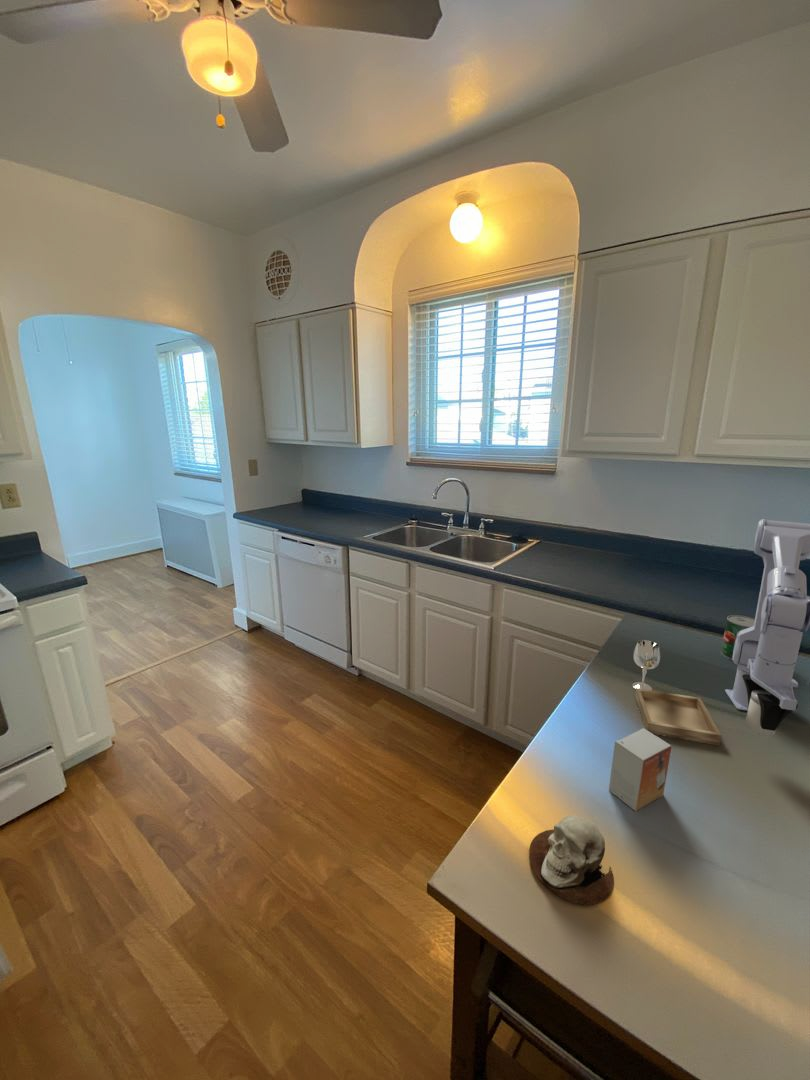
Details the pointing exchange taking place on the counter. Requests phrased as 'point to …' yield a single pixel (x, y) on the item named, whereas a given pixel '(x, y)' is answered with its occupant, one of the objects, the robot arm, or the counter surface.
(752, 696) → the shaker
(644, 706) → the tray
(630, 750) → the small box
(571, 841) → the skull
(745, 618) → the canned tomato
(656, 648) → the wineglass
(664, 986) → the counter surface
